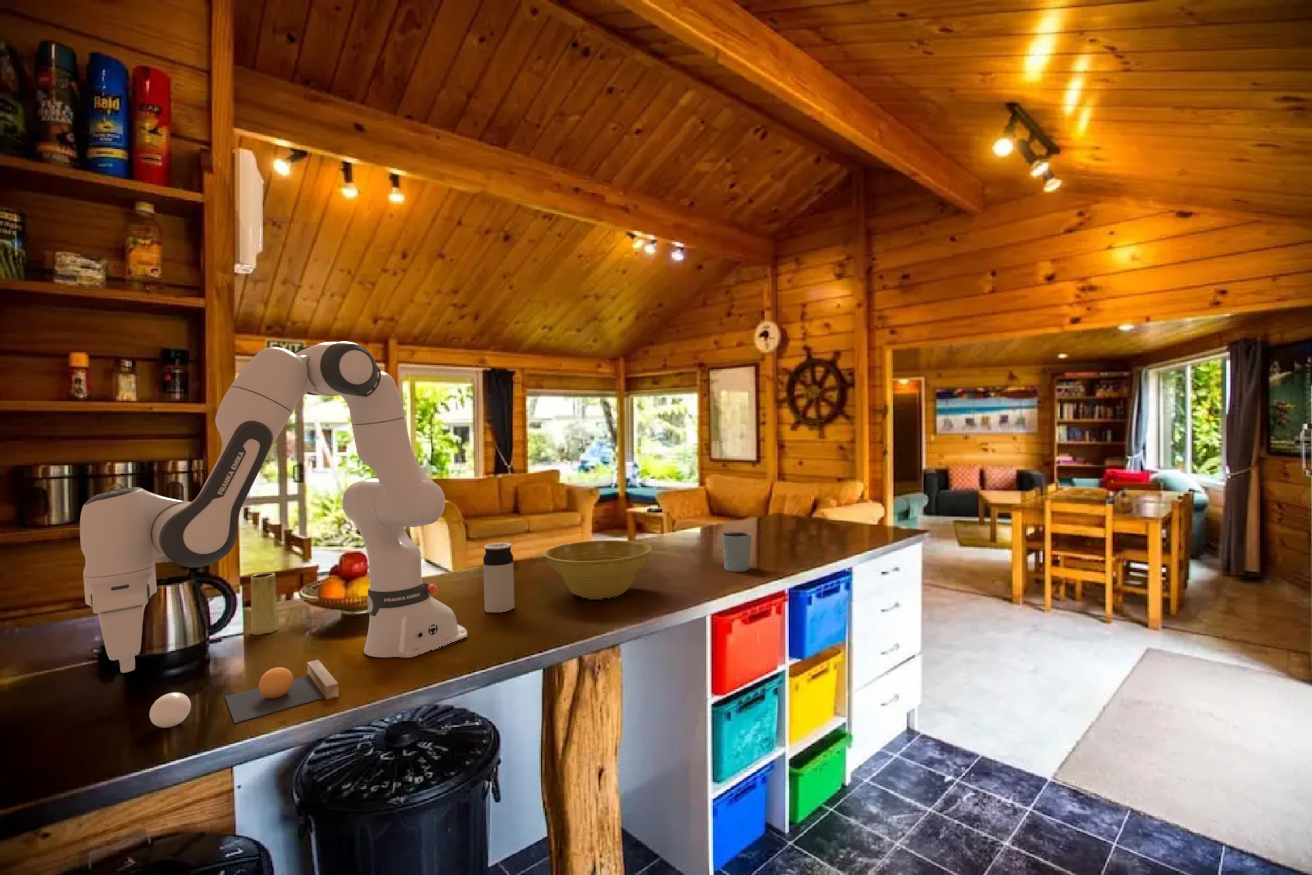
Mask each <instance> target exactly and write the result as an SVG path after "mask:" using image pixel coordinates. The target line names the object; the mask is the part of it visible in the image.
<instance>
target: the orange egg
mask: <svg viewBox="0 0 1312 875" xmlns="http://www.w3.org/2000/svg"><path fill="white" fill-rule="evenodd" d="M293 679H294V676H293V673H292V671H291V670H289V669H288V668H286V667H283V666H281V667H278V666H277V667H273V668H271V669H268V670H267V671H266V672H264V674H263V675H262V676H261V678H260V679H259V682H258V688H259V690H260V692H261V694H262V695H263V696H265V697H266V698H270V699H275V698H279V697H282V696H283V695H285V694H286V693H287V692H288V691H289V690H290V689H291V687H292V685H293Z"/></svg>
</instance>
